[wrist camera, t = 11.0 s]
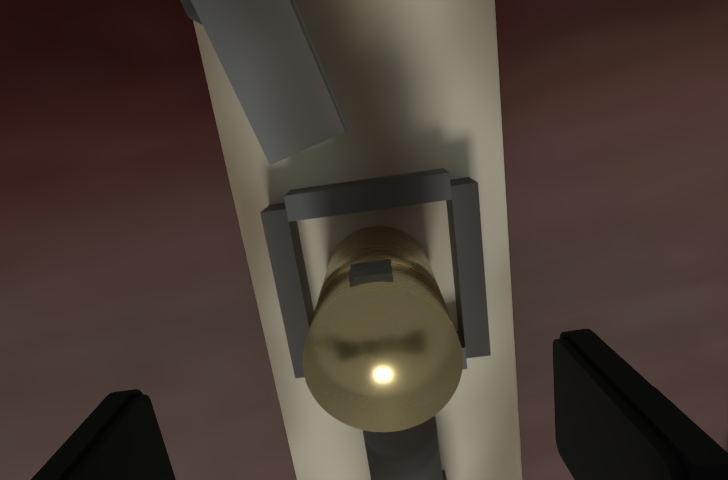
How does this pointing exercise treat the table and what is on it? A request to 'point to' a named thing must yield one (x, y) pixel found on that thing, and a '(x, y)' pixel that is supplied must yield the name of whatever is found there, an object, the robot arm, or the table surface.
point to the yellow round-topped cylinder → (381, 335)
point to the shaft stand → (371, 201)
